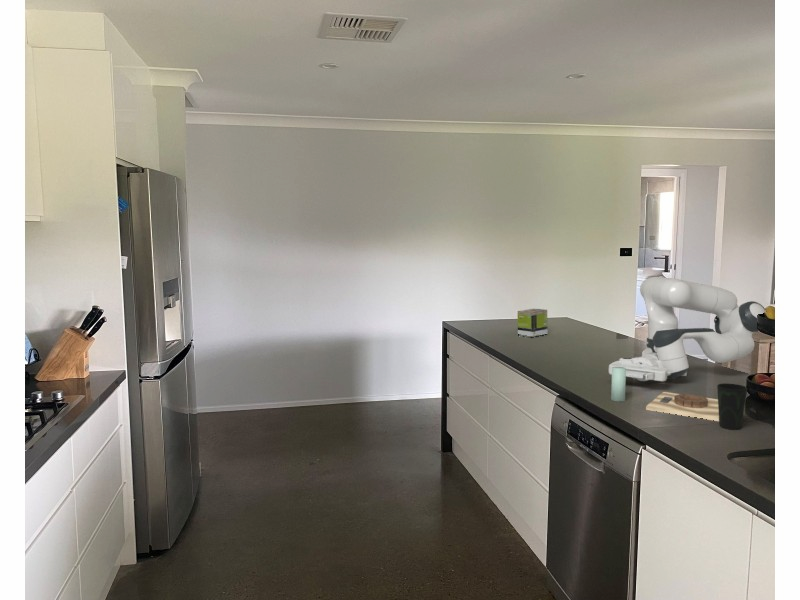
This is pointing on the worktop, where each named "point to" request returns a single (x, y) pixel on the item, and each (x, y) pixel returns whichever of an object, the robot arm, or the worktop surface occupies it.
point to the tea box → (532, 322)
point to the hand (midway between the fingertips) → (631, 375)
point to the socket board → (686, 405)
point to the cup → (731, 405)
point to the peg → (618, 384)
